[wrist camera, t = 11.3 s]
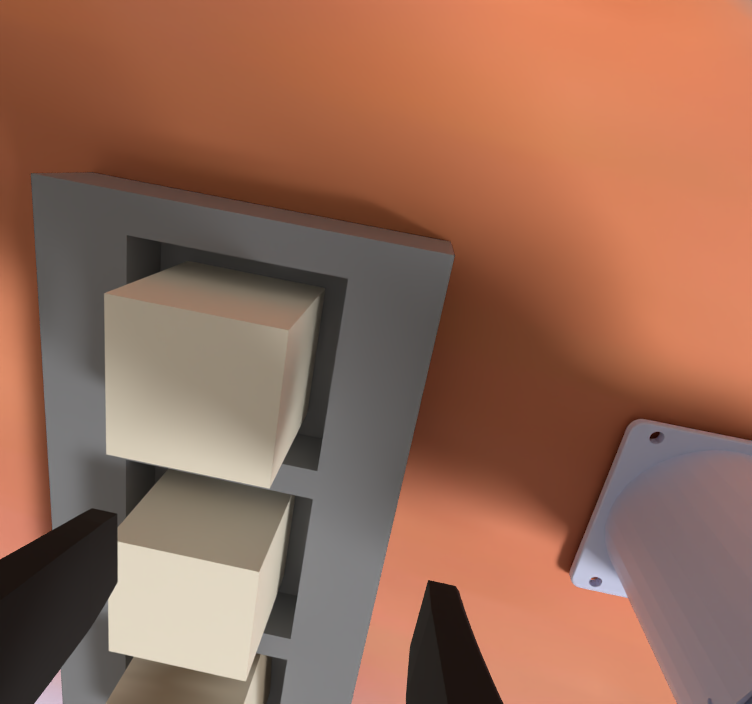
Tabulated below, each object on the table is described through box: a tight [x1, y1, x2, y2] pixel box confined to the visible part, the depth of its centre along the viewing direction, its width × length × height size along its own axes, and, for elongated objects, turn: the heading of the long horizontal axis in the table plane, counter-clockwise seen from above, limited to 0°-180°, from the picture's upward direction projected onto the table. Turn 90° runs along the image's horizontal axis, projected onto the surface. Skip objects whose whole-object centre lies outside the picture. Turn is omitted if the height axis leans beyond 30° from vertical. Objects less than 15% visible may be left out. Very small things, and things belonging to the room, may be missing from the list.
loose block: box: [105, 653, 272, 704], centre depth 22 cm, size 5×5×5 cm
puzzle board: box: [31, 172, 455, 704], centre depth 20 cm, size 13×26×6 cm, turn 170°
